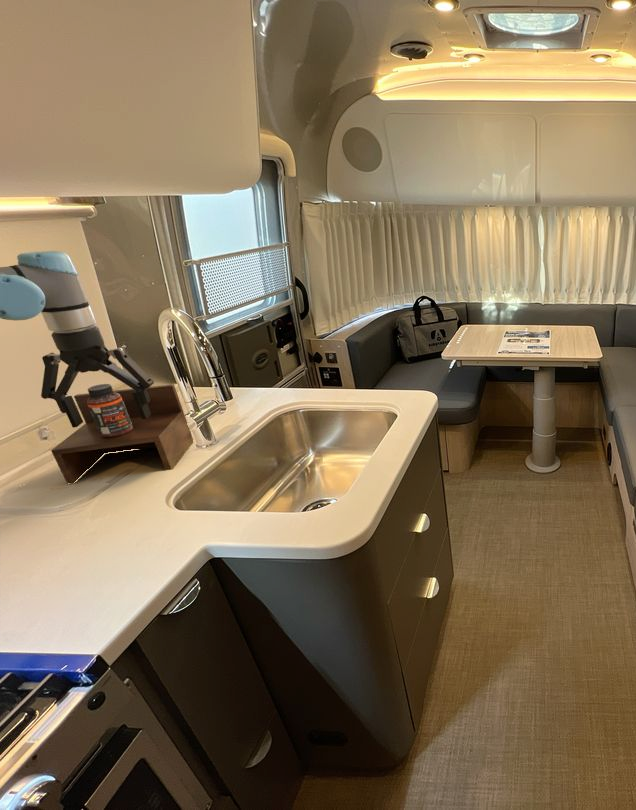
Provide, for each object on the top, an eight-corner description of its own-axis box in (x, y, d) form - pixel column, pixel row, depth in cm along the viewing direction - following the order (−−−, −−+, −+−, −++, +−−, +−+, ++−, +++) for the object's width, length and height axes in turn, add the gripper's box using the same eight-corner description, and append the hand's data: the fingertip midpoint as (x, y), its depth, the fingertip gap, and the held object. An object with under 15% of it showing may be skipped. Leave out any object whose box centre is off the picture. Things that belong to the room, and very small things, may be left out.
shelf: (171, 470, 112) (147, 408, 106) (68, 485, 107) (36, 421, 100) (194, 441, 125) (173, 384, 119) (102, 453, 120) (76, 394, 114)
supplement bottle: (111, 440, 107) (91, 393, 103) (94, 436, 109) (74, 390, 104) (140, 428, 112) (122, 383, 108) (123, 425, 114) (105, 380, 110)
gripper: (150, 319, 107) (181, 406, 116) (13, 329, 101) (56, 421, 110) (135, 327, 101) (169, 419, 109) (-13, 339, 94) (36, 436, 103)
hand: (113, 420), depth 110 cm, fingers open, 12 cm apart
